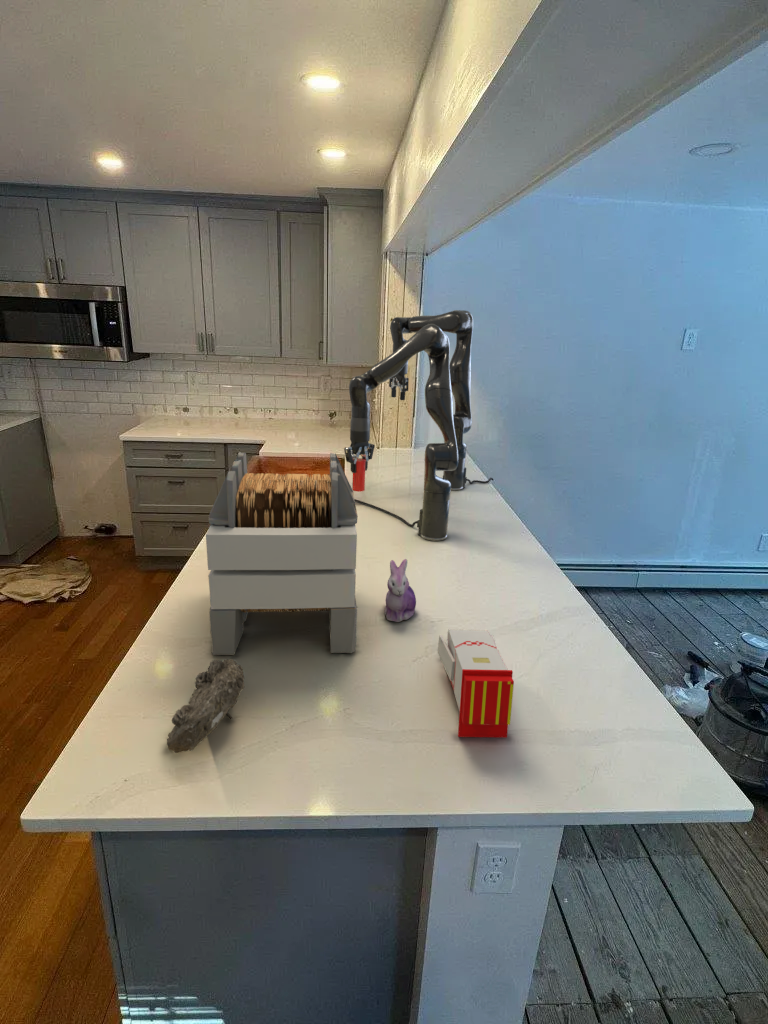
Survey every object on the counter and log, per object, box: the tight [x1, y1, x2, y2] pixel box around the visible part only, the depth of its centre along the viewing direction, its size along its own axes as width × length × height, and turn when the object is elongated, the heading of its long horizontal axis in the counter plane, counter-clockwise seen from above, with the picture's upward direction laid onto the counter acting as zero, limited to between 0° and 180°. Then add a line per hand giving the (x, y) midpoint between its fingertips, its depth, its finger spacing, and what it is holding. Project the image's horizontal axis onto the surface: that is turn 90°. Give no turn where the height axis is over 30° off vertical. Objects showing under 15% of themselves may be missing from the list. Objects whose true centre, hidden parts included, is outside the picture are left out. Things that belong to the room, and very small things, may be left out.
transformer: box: [205, 451, 358, 657], centre depth 136 cm, size 34×33×41 cm
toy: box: [437, 628, 515, 738], centre depth 117 cm, size 12×13×30 cm
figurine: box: [384, 558, 417, 623], centre depth 145 cm, size 9×10×15 cm
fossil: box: [166, 658, 245, 754], centre depth 106 cm, size 22×10×15 cm
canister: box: [351, 457, 366, 493], centre depth 223 cm, size 5×5×12 cm
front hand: (359, 471), depth 222 cm, fingers closed on canister, 5 cm apart
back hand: (397, 398), depth 266 cm, fingers open, 8 cm apart
